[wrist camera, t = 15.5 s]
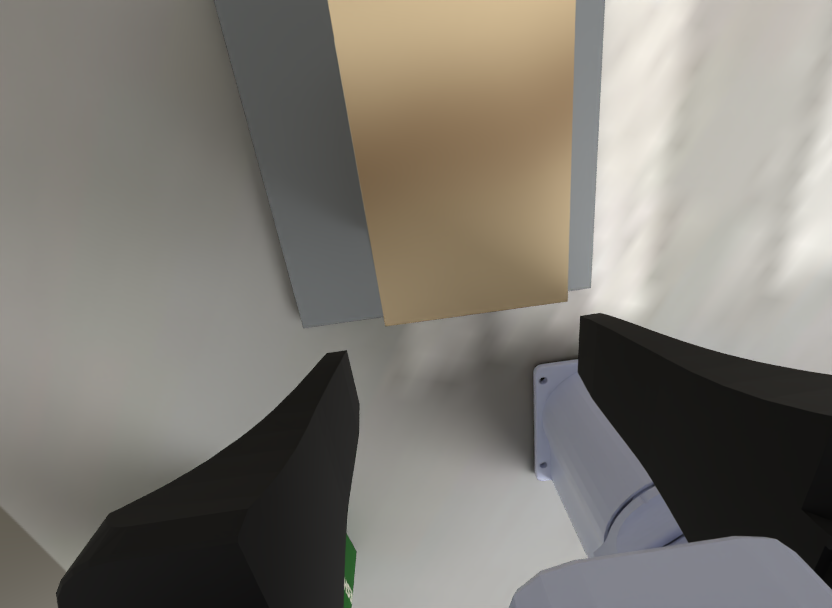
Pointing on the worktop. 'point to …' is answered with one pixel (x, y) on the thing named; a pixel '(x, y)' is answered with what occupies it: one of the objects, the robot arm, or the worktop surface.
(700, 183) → the worktop surface
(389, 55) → the oak block
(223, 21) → the board
